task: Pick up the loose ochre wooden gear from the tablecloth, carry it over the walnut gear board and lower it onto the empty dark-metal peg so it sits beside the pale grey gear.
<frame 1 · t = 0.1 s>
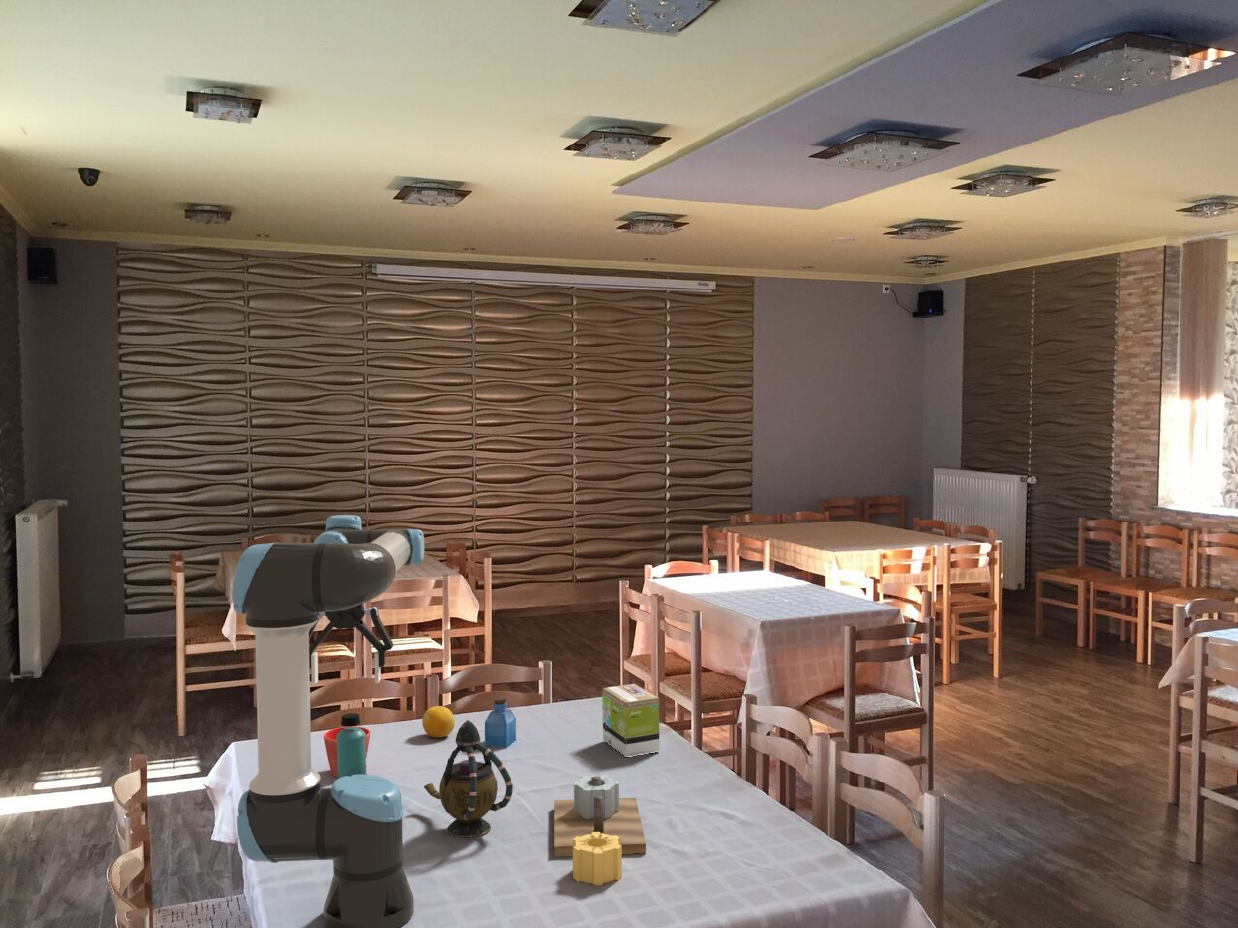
hand: (346, 682, 220), 28 cm above the table, fingers open, 13 cm apart
perfume bottle: (500, 743, 265), on the table
tea box: (630, 748, 261), on the table
flower pot: (347, 772, 244), on the table
beverage bottle: (352, 803, 224), on the table
ochre gear: (597, 873, 189), on the table
fruit: (438, 737, 271), on the table
pale grey gear: (596, 810, 214), point 2 cm above the table, touching gear board
teapot: (459, 825, 212), on the table
gear board: (597, 829, 209), on the table
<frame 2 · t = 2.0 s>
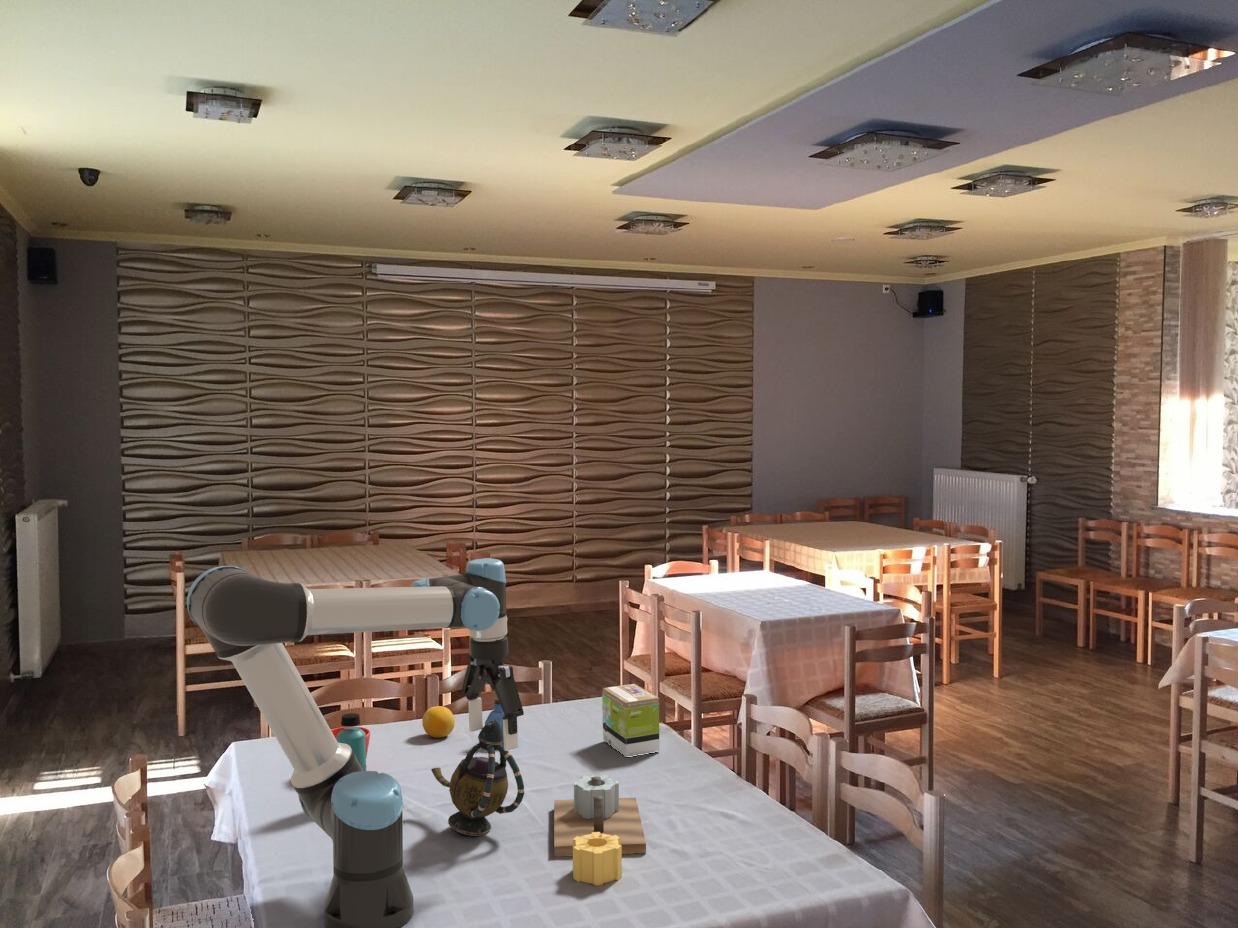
hand: (493, 739, 202), 21 cm above the table, fingers open, 13 cm apart
teapot: (459, 817, 212), point 1 cm above the table, touching gripper
everything else where it was.
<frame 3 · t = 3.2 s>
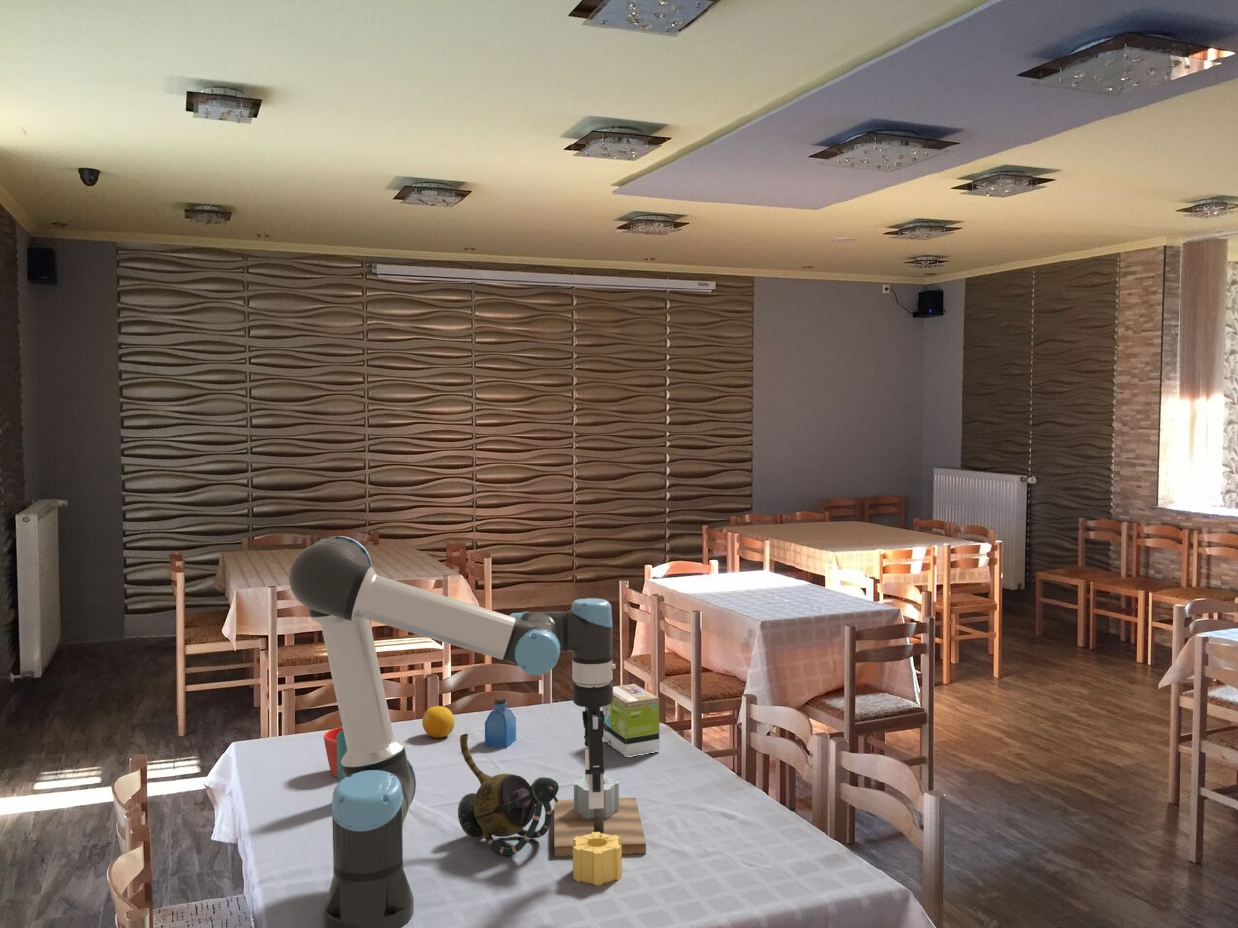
hand: (594, 793, 188), 15 cm above the table, fingers open, 13 cm apart
teapot: (466, 799, 207), point 7 cm above the table
everything else where it was.
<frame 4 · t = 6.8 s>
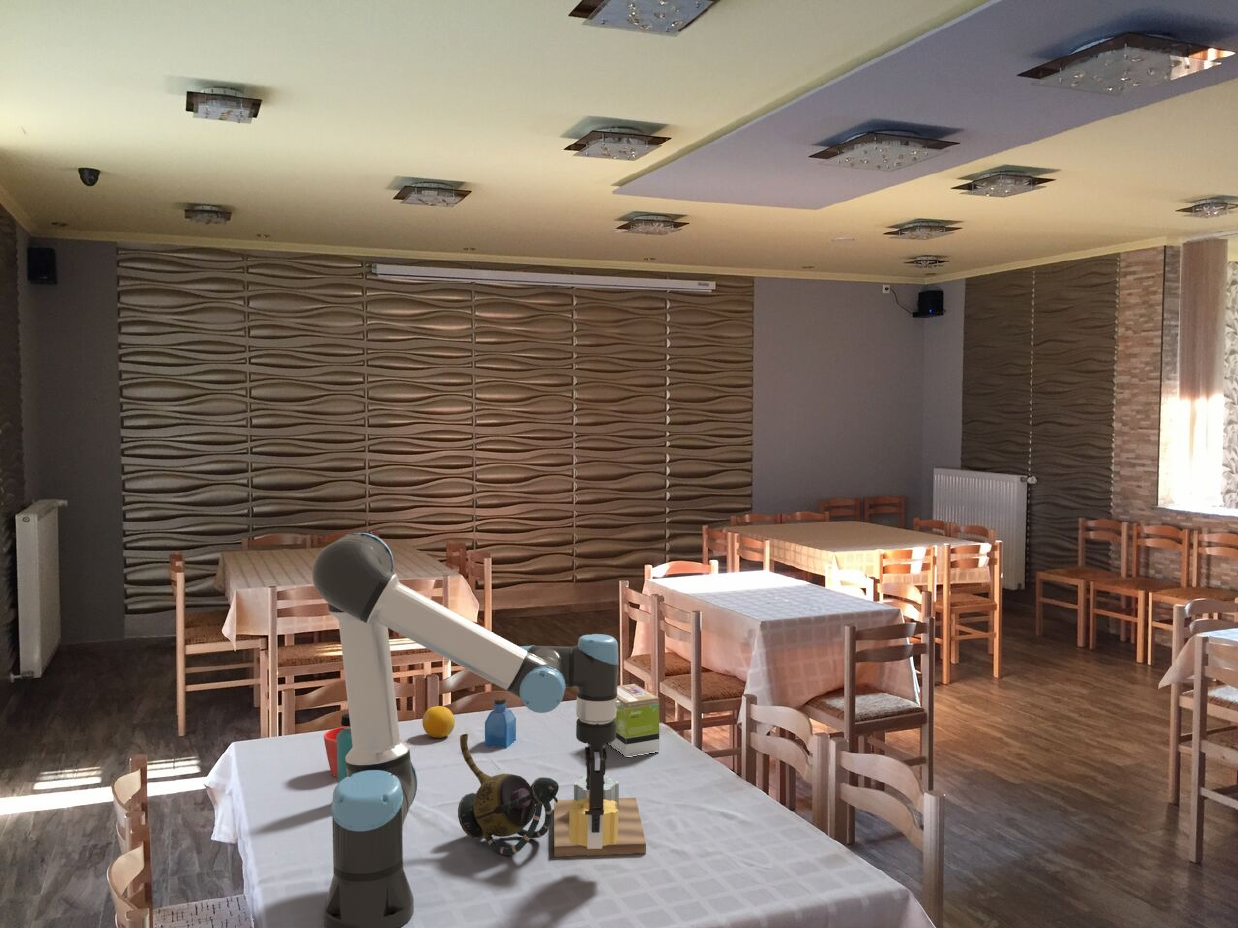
hand: (593, 835, 188), 7 cm above the table, fingers closed on ochre gear, 9 cm apart
ochre gear: (593, 837, 188), point 7 cm above the table, touching gripper
everything else where it was.
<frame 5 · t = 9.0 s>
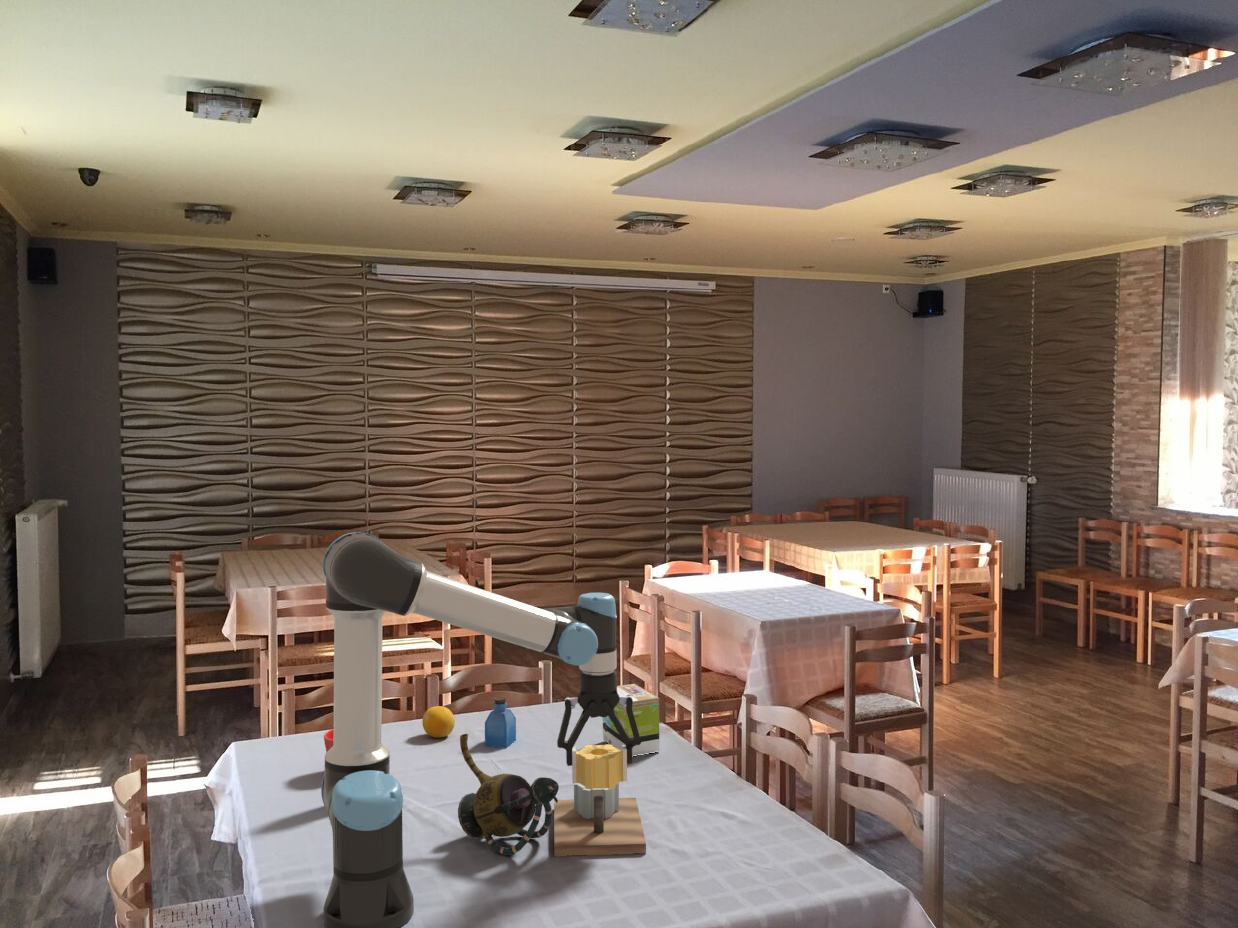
hand: (599, 779, 203), 13 cm above the table, fingers closed on ochre gear, 9 cm apart
ochre gear: (599, 780, 203), point 12 cm above the table, touching gripper
everything else where it was.
when the fingers open (3 cm above the table, at t = 11.6 s): ochre gear stays where it is, resting on gear board.
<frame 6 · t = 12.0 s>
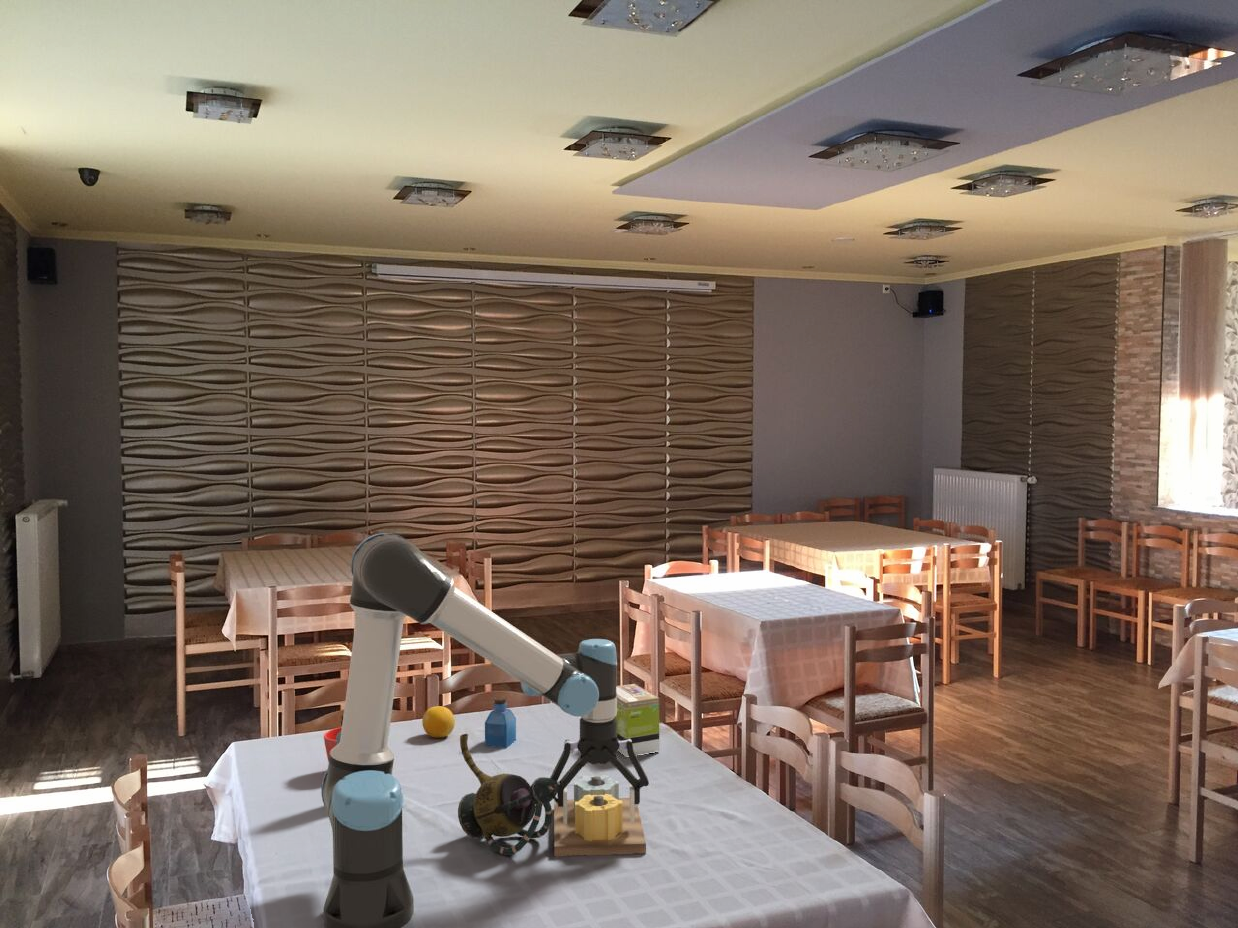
hand: (598, 820, 203), 4 cm above the table, fingers open, 13 cm apart
ochre gear: (598, 831, 203), point 2 cm above the table, touching gear board
everything else where it was.
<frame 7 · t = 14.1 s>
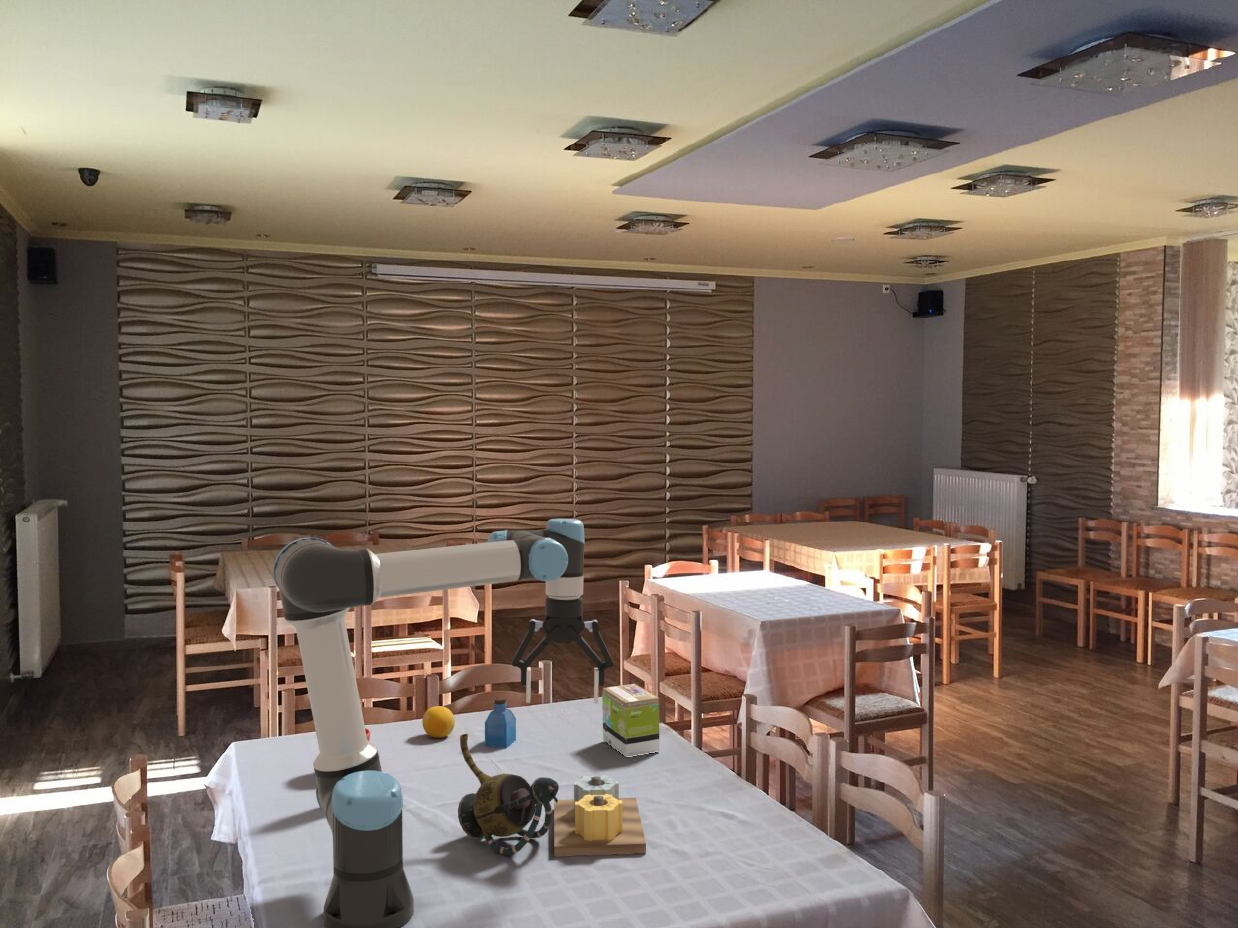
hand: (562, 701, 201), 29 cm above the table, fingers open, 13 cm apart
nothing on the table moved.
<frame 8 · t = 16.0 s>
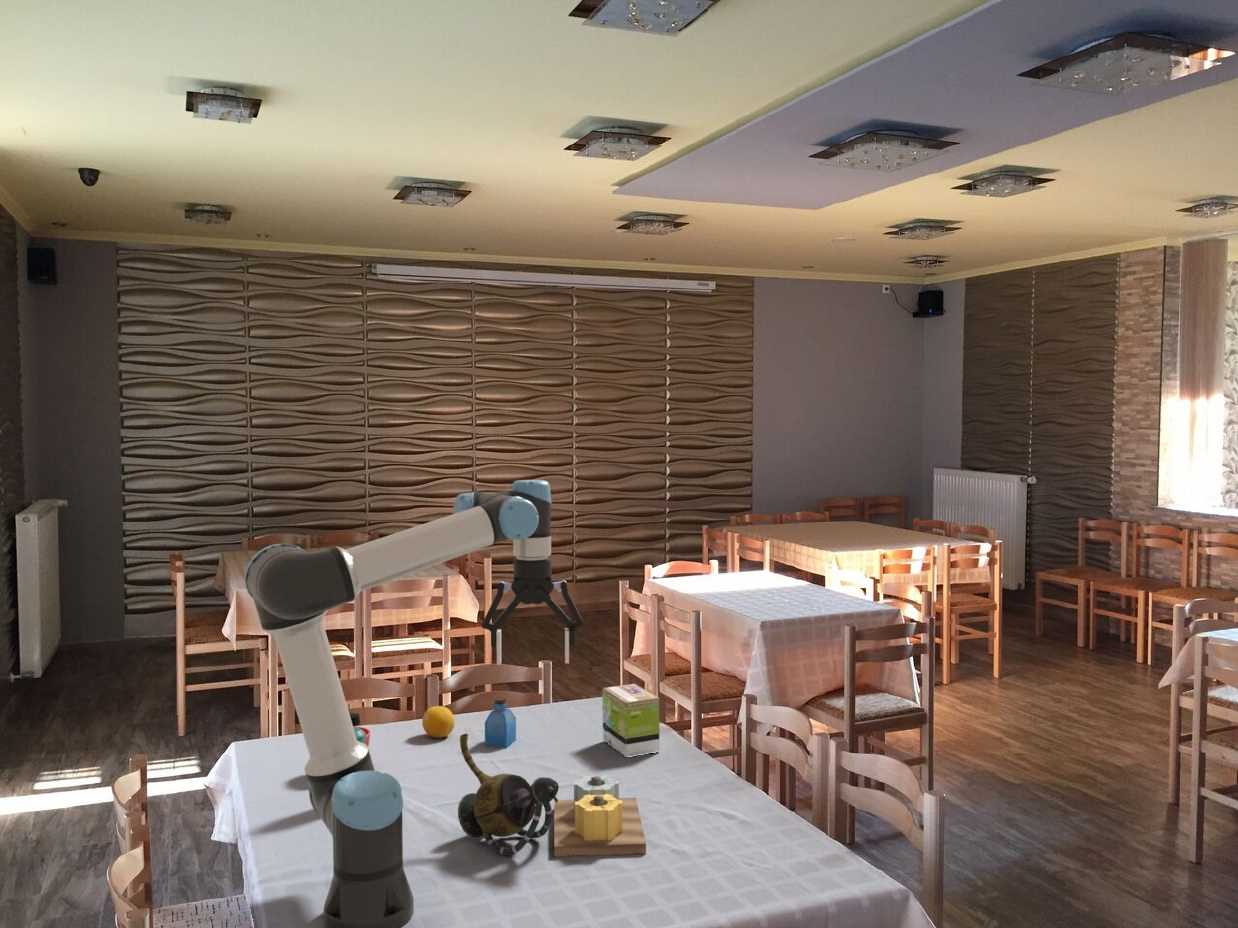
hand: (533, 662, 201), 37 cm above the table, fingers open, 13 cm apart
nothing on the table moved.
at the end: ochre gear 0.0 cm from the target spot, point 2.0 cm above the table; pale grey gear 0.0 cm from the target spot, point 2.0 cm above the table; the gripper is holding nothing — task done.
